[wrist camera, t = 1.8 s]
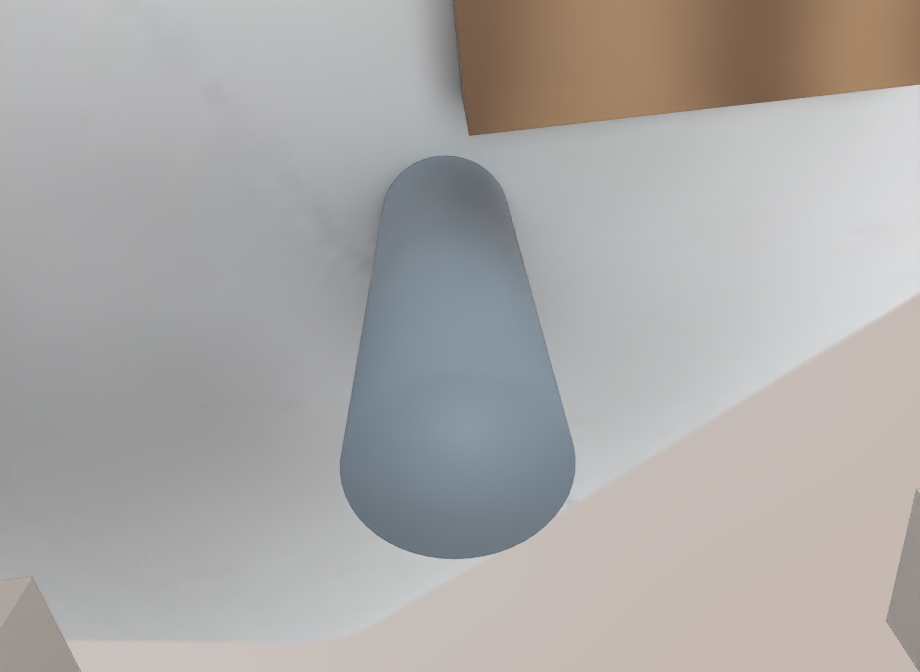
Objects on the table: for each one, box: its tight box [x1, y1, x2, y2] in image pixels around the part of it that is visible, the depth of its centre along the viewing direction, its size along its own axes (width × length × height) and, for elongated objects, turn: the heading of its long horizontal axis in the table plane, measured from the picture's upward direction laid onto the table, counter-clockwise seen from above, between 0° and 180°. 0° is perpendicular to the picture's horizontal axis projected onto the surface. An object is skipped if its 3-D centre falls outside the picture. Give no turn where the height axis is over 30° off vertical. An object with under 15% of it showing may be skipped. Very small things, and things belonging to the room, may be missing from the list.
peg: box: [340, 156, 575, 559], centre depth 20 cm, size 4×4×14 cm
